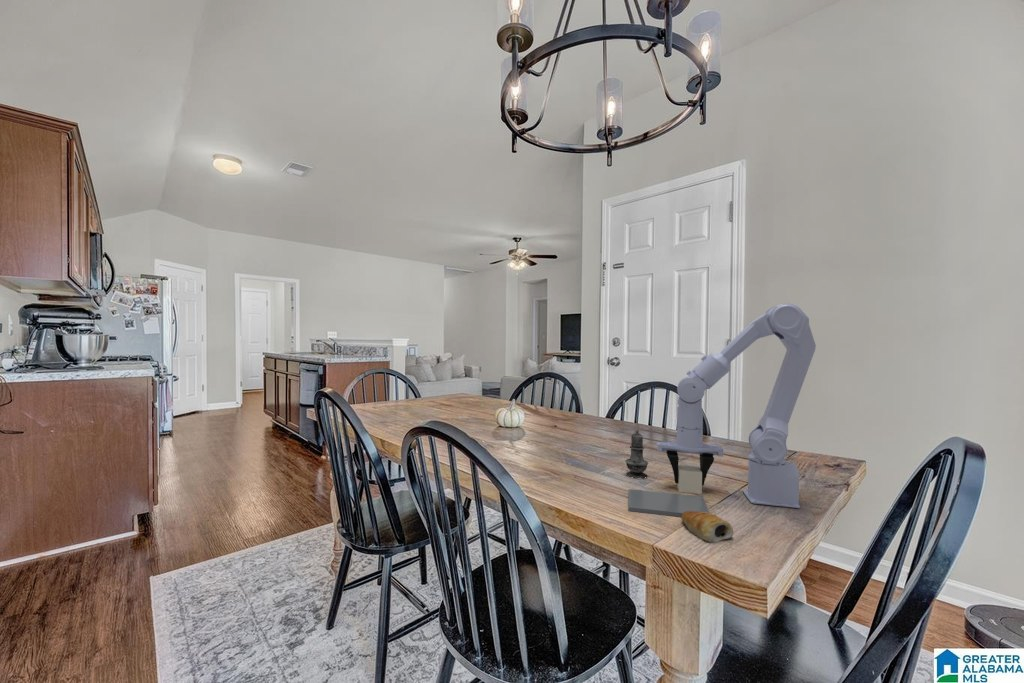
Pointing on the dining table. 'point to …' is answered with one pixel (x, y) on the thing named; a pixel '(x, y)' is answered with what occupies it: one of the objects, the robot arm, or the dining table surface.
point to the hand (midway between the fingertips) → (688, 483)
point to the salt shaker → (636, 457)
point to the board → (665, 503)
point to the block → (689, 479)
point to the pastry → (707, 526)
